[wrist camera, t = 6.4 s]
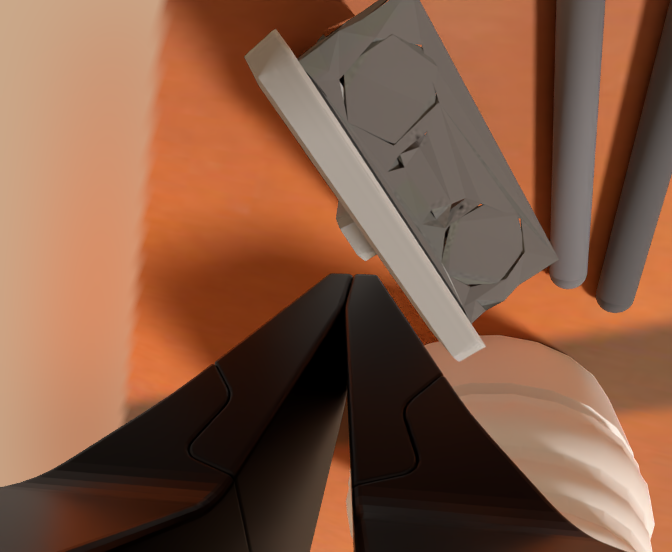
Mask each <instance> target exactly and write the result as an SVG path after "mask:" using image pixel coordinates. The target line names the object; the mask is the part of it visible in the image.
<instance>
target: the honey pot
mask: <svg viewBox="0 0 672 552" xmlns="http://www.w3.org/2000/svg"><path fill="white" fill-rule="evenodd" d="M480 338H481V339H482V341H483V343H484V344H485V346H486V347H484V348H482V349H481V350H479V351H477V352H475V353H474V354H472V355H470V356H468V357H467V358H465V359H463V360H462V361H460V362H458V361H457V360H456V359H455V358H453V357H452V355H451V354H450V353H449V352H448V351H447V350H446V348H445V347H444V346H443V345H442V344H441V343H440V341H438V342H434V343H430V344H426V345H424V346H425V348H426V349H427V351H428V352H429V354H430V355H431V357H432V358H433V360H434V361H435V363H436V364H437V366H438V367H439V369H440V370H441V372H442V373H443V376H444V377H446V379H447V380H448V382H449V383H450V385H451V386H452V388H453V389H454V391H455V392H456V394H457V395H458V396H459V398H460V399H461V401H462V402H463V403H464V405H465V406H466V407H467V409H468V410H469V411H470V413H471V414H472V415H473V416H474V418H475V419H476V420H477V421H478V422H479V424H480V425H481V426H482V427H483V428H484V429H485V431H486V432H487V433H488V434H489V435H490V436H491V438H492V439H493V440H494V441H495V442H496V443H497V444H498V445H499V447H500V448H501V449H502V450H503V451H504V452H505V453H506V454H507V455H508V456H509V458H510V459H511V460H512V461H513V462H514V463H515V464H516V465H517V466H518V468H519V469H520V470H521V471H522V472H523V473H524V474H525V475H526V476H527V478H528V479H529V480H530V481H531V482H532V483H533V484H534V485H535V486H536V487H537V489H538V490H539V491H540V492H541V493H542V494H543V495H544V496H545V497H546V499H547V500H548V501H549V502H550V503H551V504H552V505H553V506H554V507H555V508H556V509H557V510H558V511H559V512H560V513H561V514H562V515H563V516H564V517H565V518H567V519H568V520H569V521H570V522H571V523H572V524H573V525H575V526H576V527H578V528H579V529H580V530H582V531H583V532H584V533H586V534H588V535H589V536H591V537H593V538H595V539H597V540H599V541H601V542H603V543H606V544H608V545H611V546H614V547H616V548H619V549H621V550H624V551H627V552H652V547H651V542H650V539H651V536H652V532H653V529H654V525H655V524H654V518H653V512H652V506H651V501H650V495H649V490H648V485H647V483H646V482H645V480H644V479H643V477H642V476H641V474H640V470H639V465H638V463H637V462H636V460H635V459H634V455H633V451H632V449H631V447H630V445H629V442H628V440H627V438H626V436H625V434H624V431H623V429H622V427H621V425H620V423H619V420H618V418H617V416H616V414H615V411H614V409H613V407H612V405H611V403H610V400H609V398H608V397H607V395H606V394H605V392H604V391H603V389H602V388H601V386H600V384H599V383H598V381H597V380H596V378H595V377H594V375H592V374H591V373H590V372H589V371H587V370H586V369H585V368H584V367H582V366H581V365H580V364H579V363H577V362H576V361H575V360H574V359H572V358H571V357H570V356H568V355H566V354H563V353H561V352H559V351H557V350H554V349H552V348H550V347H547V346H545V345H543V344H541V343H538V342H534V341H529V340H524V339H518V338H513V337H508V336H503V335H481V336H480ZM348 484H349V490H348V494H347V498H346V506H347V515H348V521H349V527H350V532H351V537H352V538H353V522H352V498H351V473H350V477H349V481H348Z"/></svg>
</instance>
